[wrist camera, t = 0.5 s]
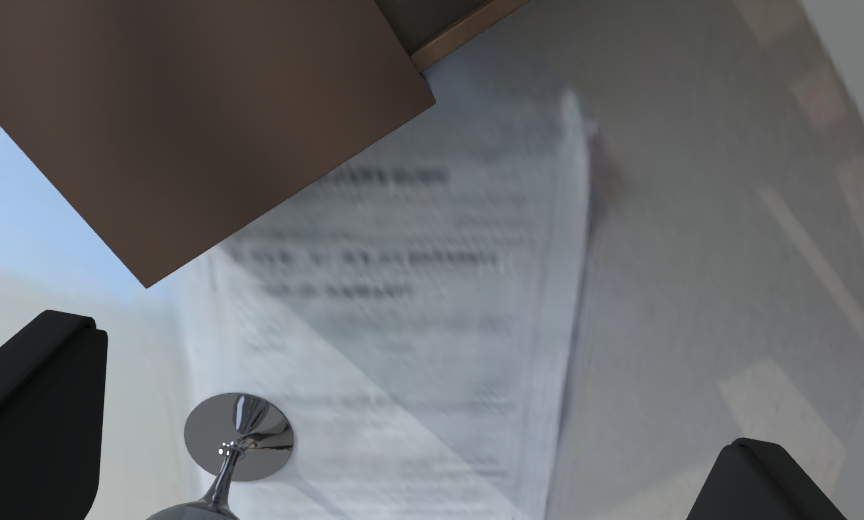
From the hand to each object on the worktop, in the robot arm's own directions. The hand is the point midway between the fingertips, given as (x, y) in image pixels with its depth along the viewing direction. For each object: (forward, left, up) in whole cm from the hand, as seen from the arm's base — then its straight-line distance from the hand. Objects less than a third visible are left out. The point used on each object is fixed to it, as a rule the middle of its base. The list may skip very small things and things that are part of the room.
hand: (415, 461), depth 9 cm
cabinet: (+5, -9, -27) cm, 29 cm away
